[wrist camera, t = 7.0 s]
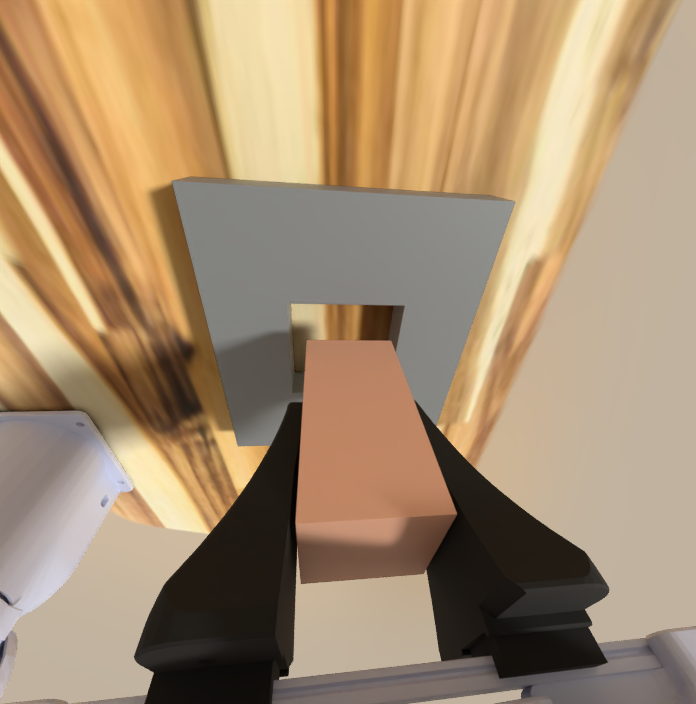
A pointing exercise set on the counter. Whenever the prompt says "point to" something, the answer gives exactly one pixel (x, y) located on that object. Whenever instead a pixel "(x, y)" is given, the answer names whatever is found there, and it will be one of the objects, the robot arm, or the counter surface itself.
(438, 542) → the terracotta peg
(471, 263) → the socket block
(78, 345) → the counter surface
